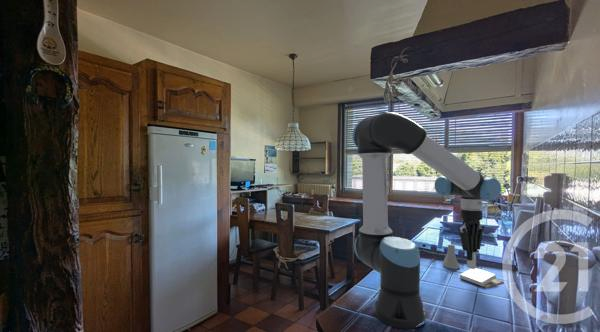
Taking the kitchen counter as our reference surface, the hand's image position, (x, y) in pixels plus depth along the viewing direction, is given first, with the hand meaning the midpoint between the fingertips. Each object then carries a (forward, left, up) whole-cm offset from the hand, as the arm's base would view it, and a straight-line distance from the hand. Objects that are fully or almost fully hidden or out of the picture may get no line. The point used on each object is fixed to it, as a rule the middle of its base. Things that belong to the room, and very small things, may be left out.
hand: (471, 267), depth 116 cm
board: (+6, 0, -6) cm, 9 cm away
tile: (0, 0, -5) cm, 5 cm away
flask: (+9, +16, -6) cm, 20 cm away
